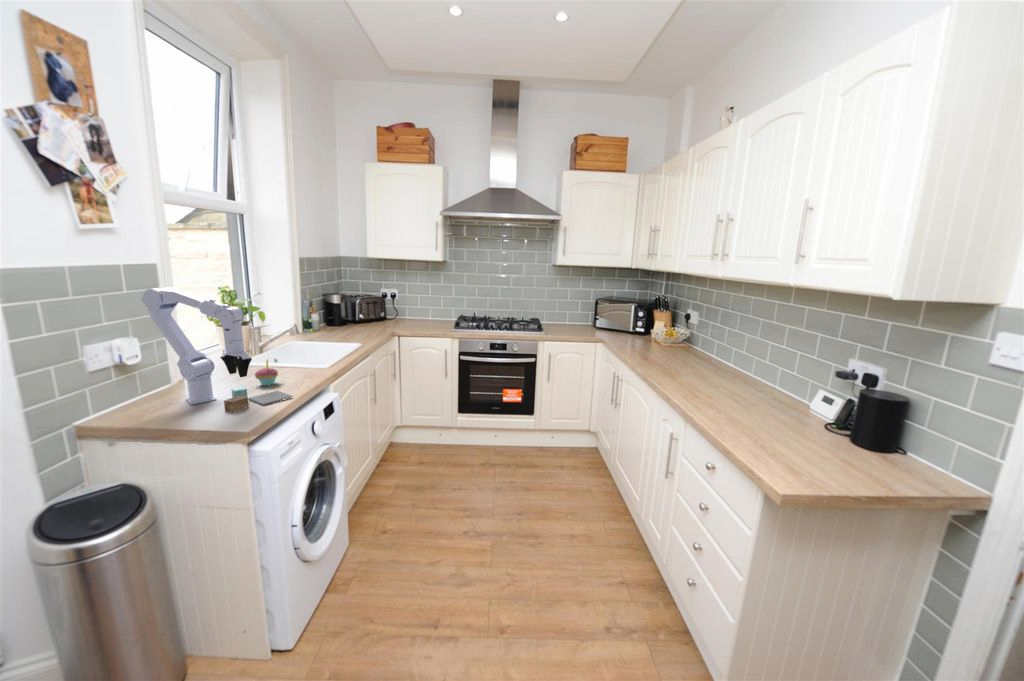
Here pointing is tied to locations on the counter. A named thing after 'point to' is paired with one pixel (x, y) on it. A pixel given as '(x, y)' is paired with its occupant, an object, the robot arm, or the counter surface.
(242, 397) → the walnut block
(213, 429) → the counter surface
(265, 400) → the slate coaster
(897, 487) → the counter surface
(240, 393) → the teal block
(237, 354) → the robot arm
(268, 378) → the cupcake
